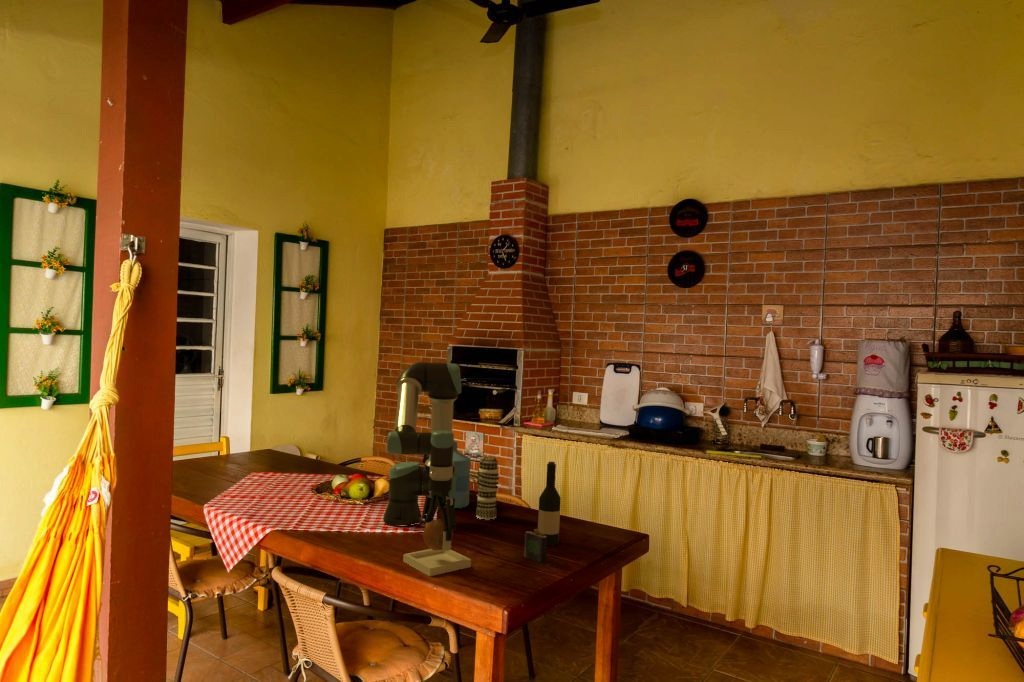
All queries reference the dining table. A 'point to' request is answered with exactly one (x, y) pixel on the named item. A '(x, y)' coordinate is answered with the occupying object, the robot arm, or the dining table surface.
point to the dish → (436, 561)
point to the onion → (434, 534)
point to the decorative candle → (487, 488)
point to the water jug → (461, 478)
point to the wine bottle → (549, 508)
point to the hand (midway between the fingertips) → (437, 546)
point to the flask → (535, 546)
